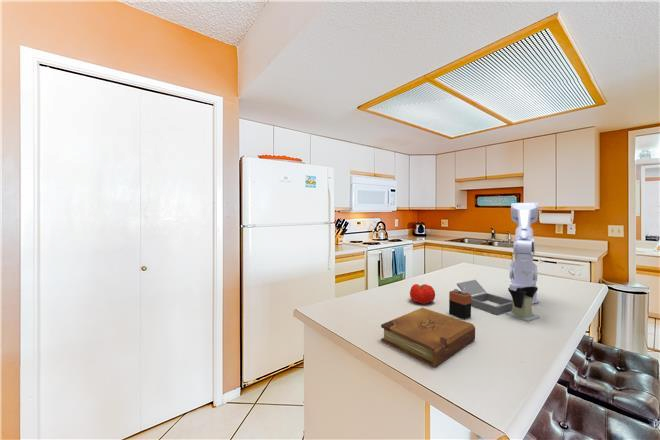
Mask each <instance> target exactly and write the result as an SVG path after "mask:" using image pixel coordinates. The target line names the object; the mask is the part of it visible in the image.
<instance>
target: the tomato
mask: <svg viewBox="0 0 660 440" xmlns="http://www.w3.org/2000/svg"><path fill="white" fill-rule="evenodd" d="M409 297H410V299H411V300H412V301H414V302H415V303H419V304H422V305H423V304H424V305H426V304H428V303H431V302H432V303H433V302H434V300H435V298H436V292H435V289H434V288H433V286H432V285H429V284H426V283H424V284H421V285H420V284H418V283H415V284H412V286H411V288H410V291H409Z"/></svg>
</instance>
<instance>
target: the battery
mask: <svg viewBox="0 0 660 440" xmlns="http://www.w3.org/2000/svg"><path fill="white" fill-rule="evenodd" d="M448 294H449V295H448V297H449V299H448V301H449V303H448V313H449V314H450V315H452V316H454V317H456V318H458V319H461V320H467V319H470V318H471V317H472V306H471V294H469V293H467V292H466V291H461V290H459V289H457V288H453V290H450V291H449V293H448Z"/></svg>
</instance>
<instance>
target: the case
mask: <svg viewBox="0 0 660 440" xmlns="http://www.w3.org/2000/svg"><path fill="white" fill-rule="evenodd" d="M456 286H457V287H458V288H459V290H460V291H466V292H467V293H469V294H471V308H474V309H478V310H480V311H484V312H486V313H490V314H493V315H496V316H499V315H501V314H506V313H507V312H510V311H512V300H510V298H507V297H502V296H499V295H495V294H492V293H488V292H487V291H486V290H485V288H483V287H482V285H481V284H480V283H479V282H478V281H477V280H476V279H473V280H468V281H463V282H457V283H456ZM486 301H488V302H491V303H494V304H499V305H493V304H490V303H487V302H486Z"/></svg>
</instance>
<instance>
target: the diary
mask: <svg viewBox="0 0 660 440" xmlns="http://www.w3.org/2000/svg"><path fill="white" fill-rule="evenodd" d="M380 327H381V328H382V329H383V337H381V339H380V341H382V342H384V343H385V344H388V345H390V346H391V347H394V348H395V349H398V350H400V351H401V352H404V353H405V354H407V355H409V356H411V357H412V358H415V359H417V360H418V361H421V362H423V363H425V364H427V365H429V366H431V367H432V366H433V368H435V367H437V366H438V365H440V364H441V363H444V361H446V360H447V359H448V358H450V357H452V356H453V355H454V354H456V353H458V352H459V351H460V350H461V349H463V348H464V347H466V346H468V345H469V344H470V343H472V342H474V341H475V340H476V326H475V325H474V324H473V323H470V322H468V321H466V320H463V319H460V318H457V317H452V316H450V315H447V314H443V313H441V312H438V311H434V310H432V309H428V308H424V307H421V308H418V309H416V310H413V311H411V312H409V313H405V314H403V315H401V316H398V317H396V318H393V319H392V320H389V321H386V322H384V323H381V324H380Z"/></svg>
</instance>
